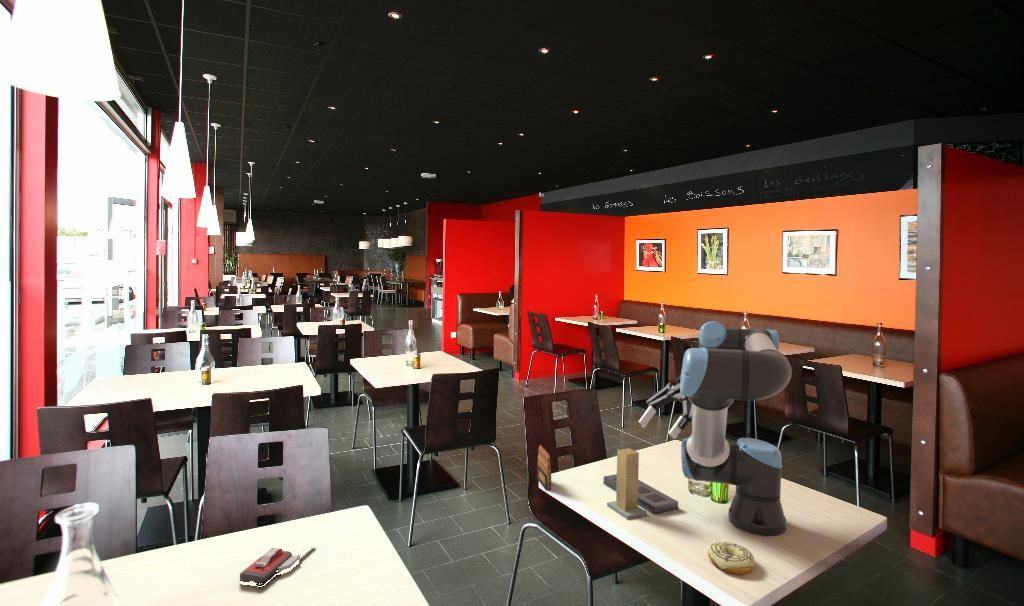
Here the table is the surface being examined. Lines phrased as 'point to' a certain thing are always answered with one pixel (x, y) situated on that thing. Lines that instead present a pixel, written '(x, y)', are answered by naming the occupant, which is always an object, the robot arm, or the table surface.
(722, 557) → the decorated donut
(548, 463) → the brown upright box
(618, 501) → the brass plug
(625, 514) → the rubber mat
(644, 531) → the table surface
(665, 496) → the dark square socket tray
